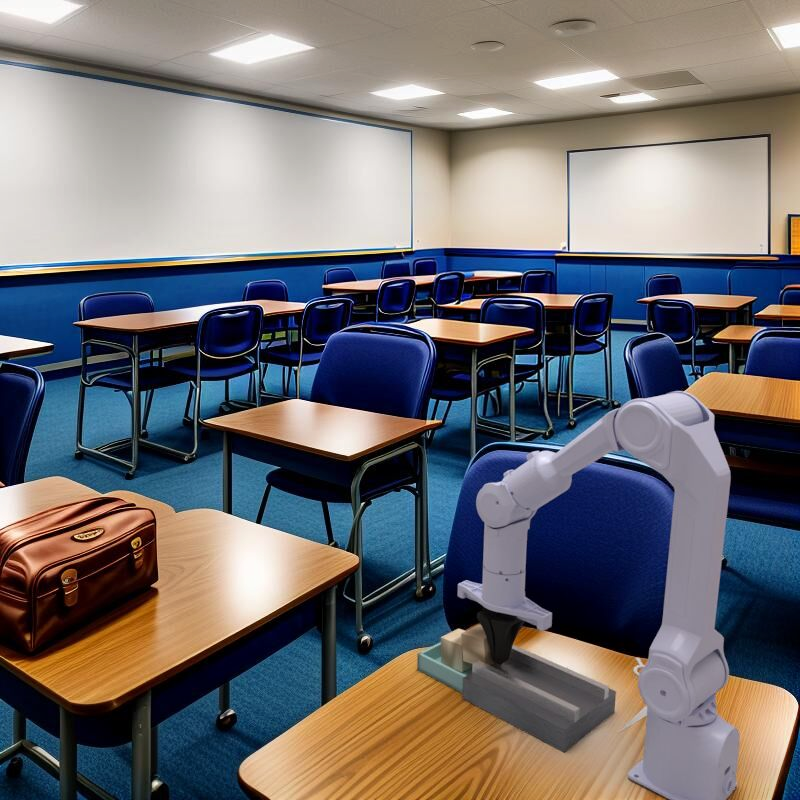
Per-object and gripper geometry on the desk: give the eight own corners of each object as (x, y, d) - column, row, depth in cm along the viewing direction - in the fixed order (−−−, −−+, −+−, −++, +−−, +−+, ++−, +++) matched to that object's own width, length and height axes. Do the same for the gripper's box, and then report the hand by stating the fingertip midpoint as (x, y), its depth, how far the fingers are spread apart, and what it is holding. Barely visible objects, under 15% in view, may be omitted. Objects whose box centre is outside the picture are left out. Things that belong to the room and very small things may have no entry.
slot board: (614, 712, 97) (616, 680, 97) (564, 752, 89) (566, 718, 88) (515, 666, 108) (516, 637, 108) (462, 698, 100) (463, 667, 99)
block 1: (479, 636, 108) (458, 628, 110) (461, 645, 105) (440, 637, 108) (480, 662, 108) (459, 653, 111) (462, 672, 105) (441, 663, 108)
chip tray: (509, 668, 108) (510, 652, 108) (465, 694, 101) (465, 677, 101) (461, 646, 114) (462, 631, 114) (417, 669, 107) (417, 653, 107)
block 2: (503, 657, 105) (501, 629, 105) (485, 667, 102) (483, 639, 102) (480, 651, 108) (478, 624, 107) (463, 661, 105) (461, 633, 105)
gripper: (566, 574, 98) (561, 669, 100) (480, 545, 108) (477, 632, 110) (536, 589, 93) (531, 689, 95) (448, 558, 103) (446, 648, 105)
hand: (500, 660), depth 102 cm, fingers closed
